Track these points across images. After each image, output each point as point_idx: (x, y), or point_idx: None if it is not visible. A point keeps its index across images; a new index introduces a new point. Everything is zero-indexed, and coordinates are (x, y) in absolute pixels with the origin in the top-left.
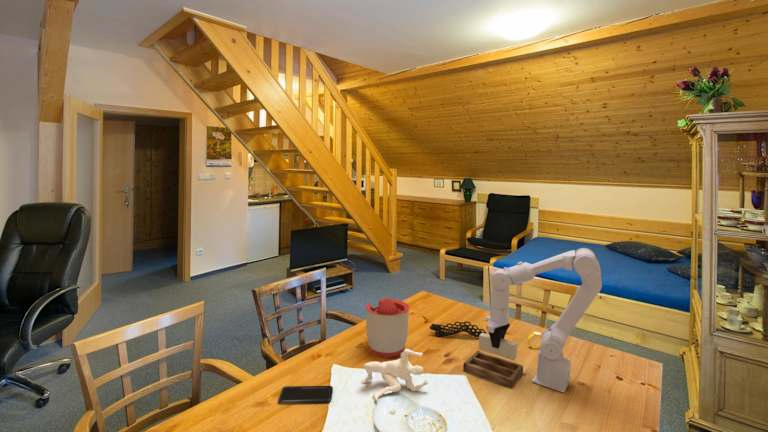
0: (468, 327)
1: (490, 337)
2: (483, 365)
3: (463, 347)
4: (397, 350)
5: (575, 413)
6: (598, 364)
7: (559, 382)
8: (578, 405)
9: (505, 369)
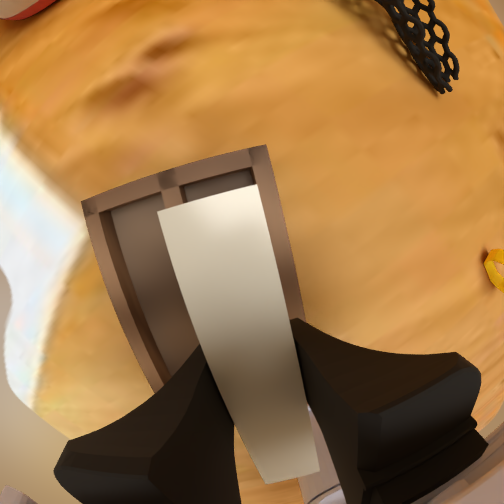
0: (401, 6)
1: (160, 393)
2: None
3: (295, 48)
4: (14, 13)
5: None
6: None
7: None
8: (267, 486)
9: None
